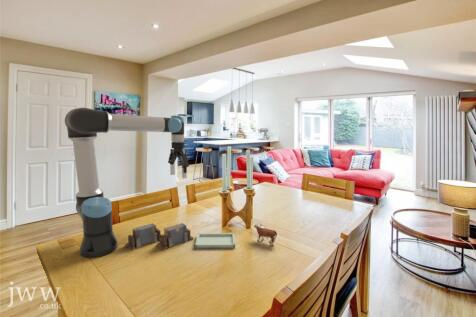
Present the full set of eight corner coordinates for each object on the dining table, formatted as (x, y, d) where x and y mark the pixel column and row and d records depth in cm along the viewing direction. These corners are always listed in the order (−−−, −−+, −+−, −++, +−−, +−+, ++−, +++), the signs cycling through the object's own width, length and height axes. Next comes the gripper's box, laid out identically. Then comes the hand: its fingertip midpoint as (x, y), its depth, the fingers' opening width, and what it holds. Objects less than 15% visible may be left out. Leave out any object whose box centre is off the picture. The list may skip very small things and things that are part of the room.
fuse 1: (136, 247, 118) (135, 231, 117) (133, 244, 121) (132, 228, 120) (156, 240, 125) (156, 225, 124) (153, 238, 128) (152, 223, 126)
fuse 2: (168, 246, 119) (167, 230, 118) (164, 243, 122) (163, 228, 121) (186, 240, 125) (186, 225, 124) (182, 237, 128) (182, 223, 127)
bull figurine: (255, 236, 132) (256, 221, 131) (278, 244, 123) (278, 228, 122) (250, 239, 128) (251, 223, 127) (273, 247, 120) (274, 231, 119)
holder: (130, 250, 115) (129, 240, 114) (125, 245, 119) (125, 235, 119) (163, 239, 126) (163, 230, 125) (157, 235, 131) (157, 226, 130)
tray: (194, 248, 117) (194, 245, 117) (197, 236, 130) (197, 233, 130) (235, 248, 118) (235, 244, 118) (234, 236, 131) (234, 233, 131)
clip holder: (163, 249, 116) (162, 239, 115) (157, 245, 120) (156, 235, 120) (193, 239, 127) (193, 230, 126) (186, 235, 131) (186, 226, 131)
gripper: (194, 142, 143) (195, 178, 146) (173, 140, 161) (173, 172, 164) (183, 143, 138) (183, 180, 141) (162, 140, 156) (162, 174, 158)
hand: (178, 176), depth 152 cm, fingers open, 13 cm apart
